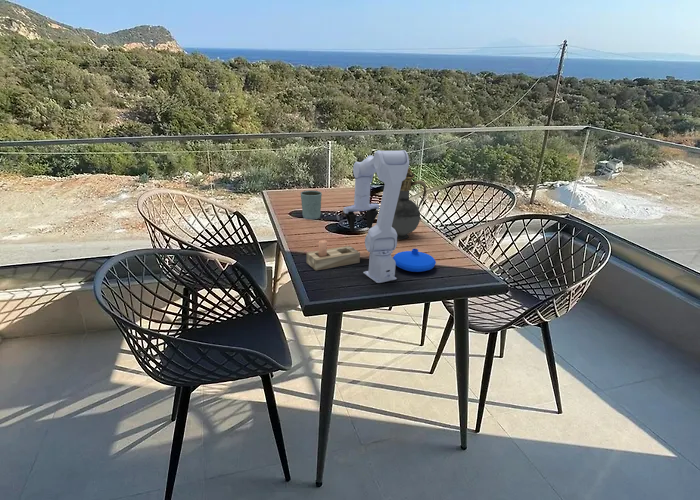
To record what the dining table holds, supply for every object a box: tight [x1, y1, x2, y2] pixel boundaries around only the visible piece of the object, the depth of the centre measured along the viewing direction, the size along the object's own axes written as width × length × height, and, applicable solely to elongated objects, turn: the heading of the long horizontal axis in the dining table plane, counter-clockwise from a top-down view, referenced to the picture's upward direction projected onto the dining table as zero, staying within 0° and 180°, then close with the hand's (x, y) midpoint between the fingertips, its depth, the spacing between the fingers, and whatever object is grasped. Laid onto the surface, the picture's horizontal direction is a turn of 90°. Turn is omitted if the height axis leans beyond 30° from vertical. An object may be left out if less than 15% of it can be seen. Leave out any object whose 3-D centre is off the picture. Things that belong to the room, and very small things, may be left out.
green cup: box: [300, 190, 323, 220], centre depth 218 cm, size 10×10×12 cm
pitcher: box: [392, 167, 428, 240], centre depth 193 cm, size 11×19×30 cm, turn 112°
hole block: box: [306, 245, 361, 271], centre depth 166 cm, size 8×18×4 cm, turn 119°
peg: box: [318, 239, 328, 257], centre depth 163 cm, size 3×3×9 cm
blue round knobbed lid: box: [392, 248, 437, 273], centre depth 165 cm, size 16×16×7 cm
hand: (360, 229), depth 172 cm, fingers open, 7 cm apart
